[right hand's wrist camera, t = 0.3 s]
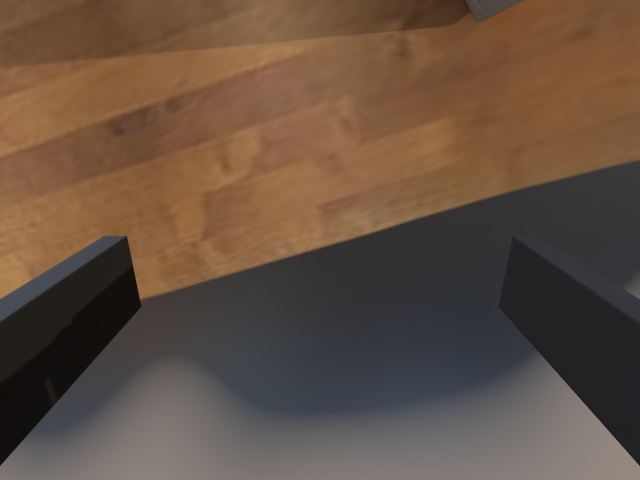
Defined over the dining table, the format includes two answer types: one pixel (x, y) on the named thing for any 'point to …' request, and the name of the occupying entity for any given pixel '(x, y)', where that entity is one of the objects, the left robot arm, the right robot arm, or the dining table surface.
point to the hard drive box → (488, 7)
